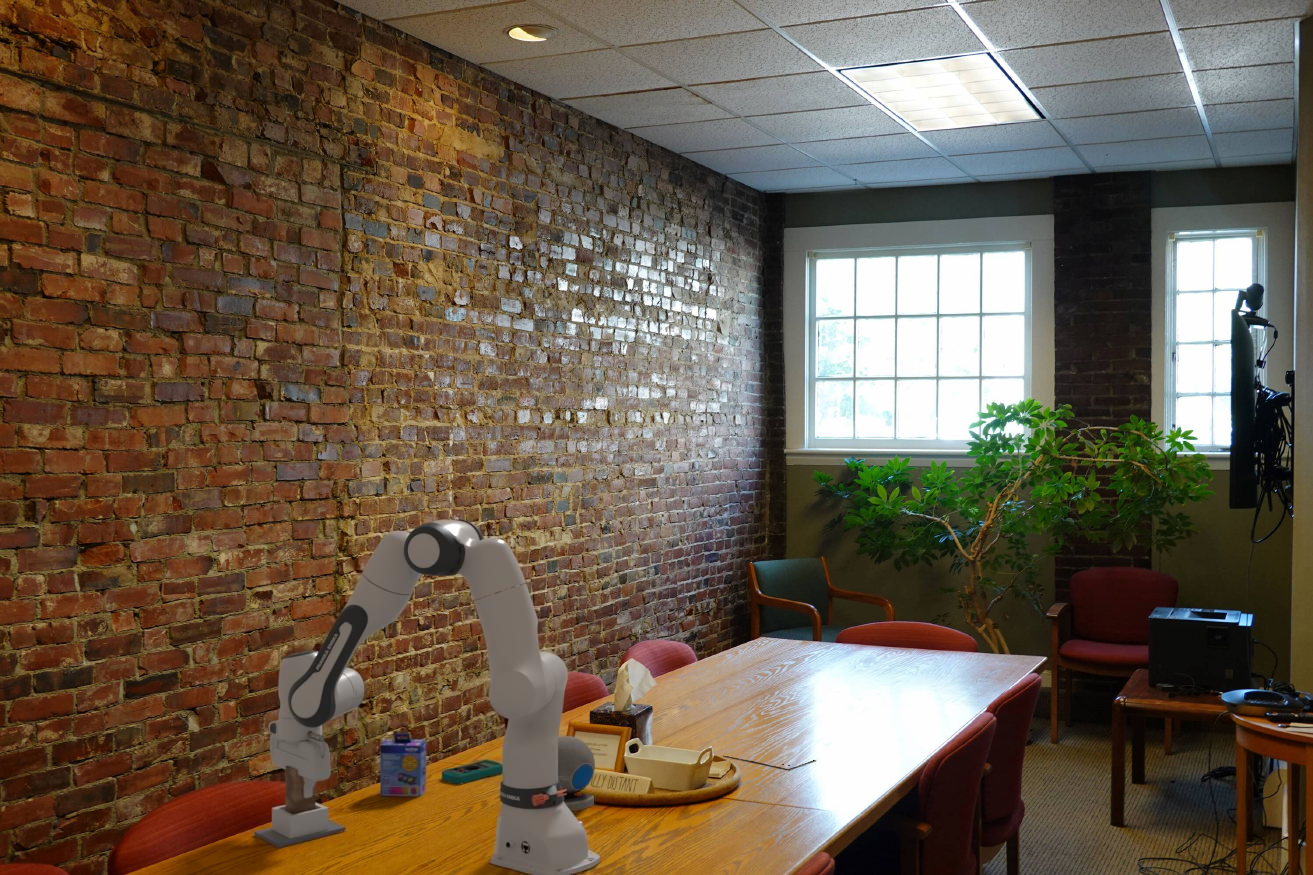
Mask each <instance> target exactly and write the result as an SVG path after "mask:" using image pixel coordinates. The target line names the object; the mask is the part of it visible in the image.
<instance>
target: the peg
mask: <svg viewBox="0 0 1313 875" xmlns="http://www.w3.org/2000/svg"><path fill="white" fill-rule="evenodd" d="M284 771H285V772H284V774H285V778H284V779H285V781H284V782H285V789H284V790H285V794H284V796H285V800H284V802H285V804H284V805H285V811H286V812H288V813H291V814H298V813H302V812H306V811H311V810H315V802H316V783H315V784H314V787H313V795H312V797H309V798H305V797H303V796H302V788H304V784H305V782H304V781H303V777H302V776H300V775H298V773H297V769H294V768H292V767H289V766H285V769H284Z"/></svg>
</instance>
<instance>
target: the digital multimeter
mask: <svg viewBox="0 0 1313 875" xmlns="http://www.w3.org/2000/svg"><path fill="white" fill-rule="evenodd" d="M500 773H502V774H503V763H501V762H498V761H494V760H491V759H483V760H478V761H476V762H472V763H468V764H465V765H461V766H456V767H452V768H447V769H444V770H442V772H441V780H442V781H444V780H445V782H446V783H447V782H448V783H449V784H454V783H457V784H456V785H462V784H461V783H464V784H466V782H467V783H470V782H469V781H471V782H474V781H477V779H478V780H482V779H485V778H484V777H486V778H488V777H487V776H490V777H493V776H492V775H494V776H497V775H496V774H498V775H501V774H500ZM481 778H482V779H481ZM473 780H474V781H473Z"/></svg>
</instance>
